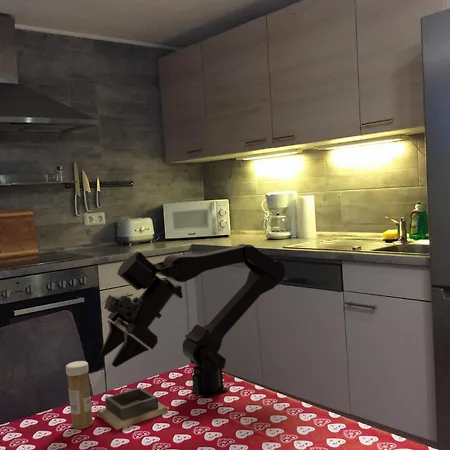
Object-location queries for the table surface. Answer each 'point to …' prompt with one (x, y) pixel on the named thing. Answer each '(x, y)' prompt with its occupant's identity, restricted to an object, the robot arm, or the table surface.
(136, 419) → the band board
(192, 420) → the table surface
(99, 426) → the table surface
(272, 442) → the table surface
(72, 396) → the sprinkles bottle
